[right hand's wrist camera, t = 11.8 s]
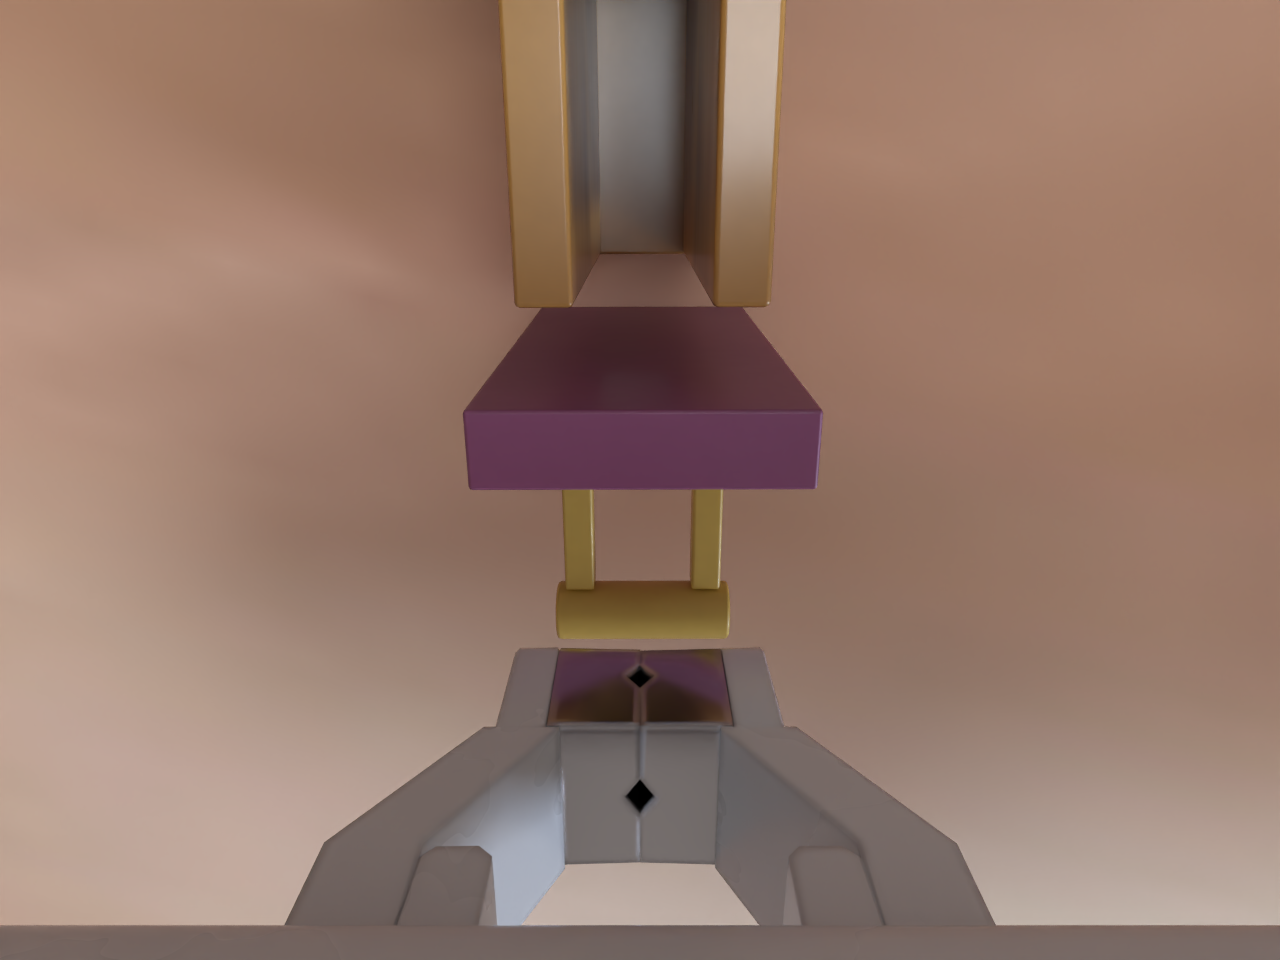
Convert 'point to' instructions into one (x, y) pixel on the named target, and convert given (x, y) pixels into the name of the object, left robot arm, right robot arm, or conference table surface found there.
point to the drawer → (642, 336)
